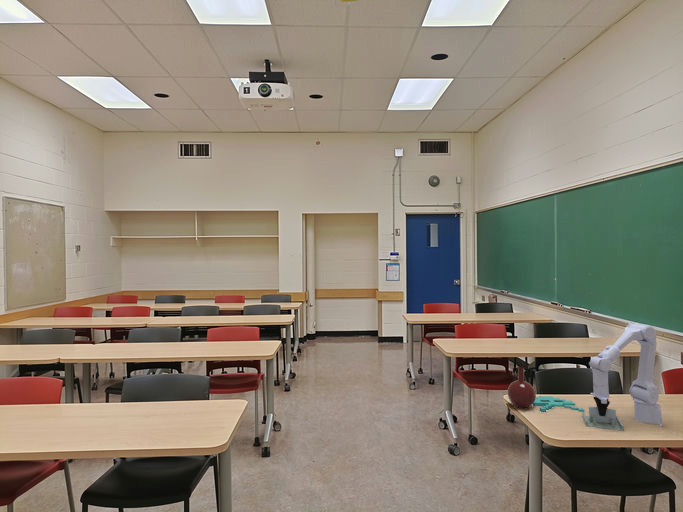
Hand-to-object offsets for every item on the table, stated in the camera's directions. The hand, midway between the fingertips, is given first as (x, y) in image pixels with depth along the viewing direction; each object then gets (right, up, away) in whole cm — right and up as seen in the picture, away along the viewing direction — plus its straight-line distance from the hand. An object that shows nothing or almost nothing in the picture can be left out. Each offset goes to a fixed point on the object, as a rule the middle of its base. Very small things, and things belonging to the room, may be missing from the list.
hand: (601, 415), depth 175 cm
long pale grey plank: (0, -3, 0) cm, 3 cm away
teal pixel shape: (-8, -6, +25) cm, 27 cm away
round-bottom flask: (-25, -6, +24) cm, 35 cm away
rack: (0, -4, 0) cm, 4 cm away
